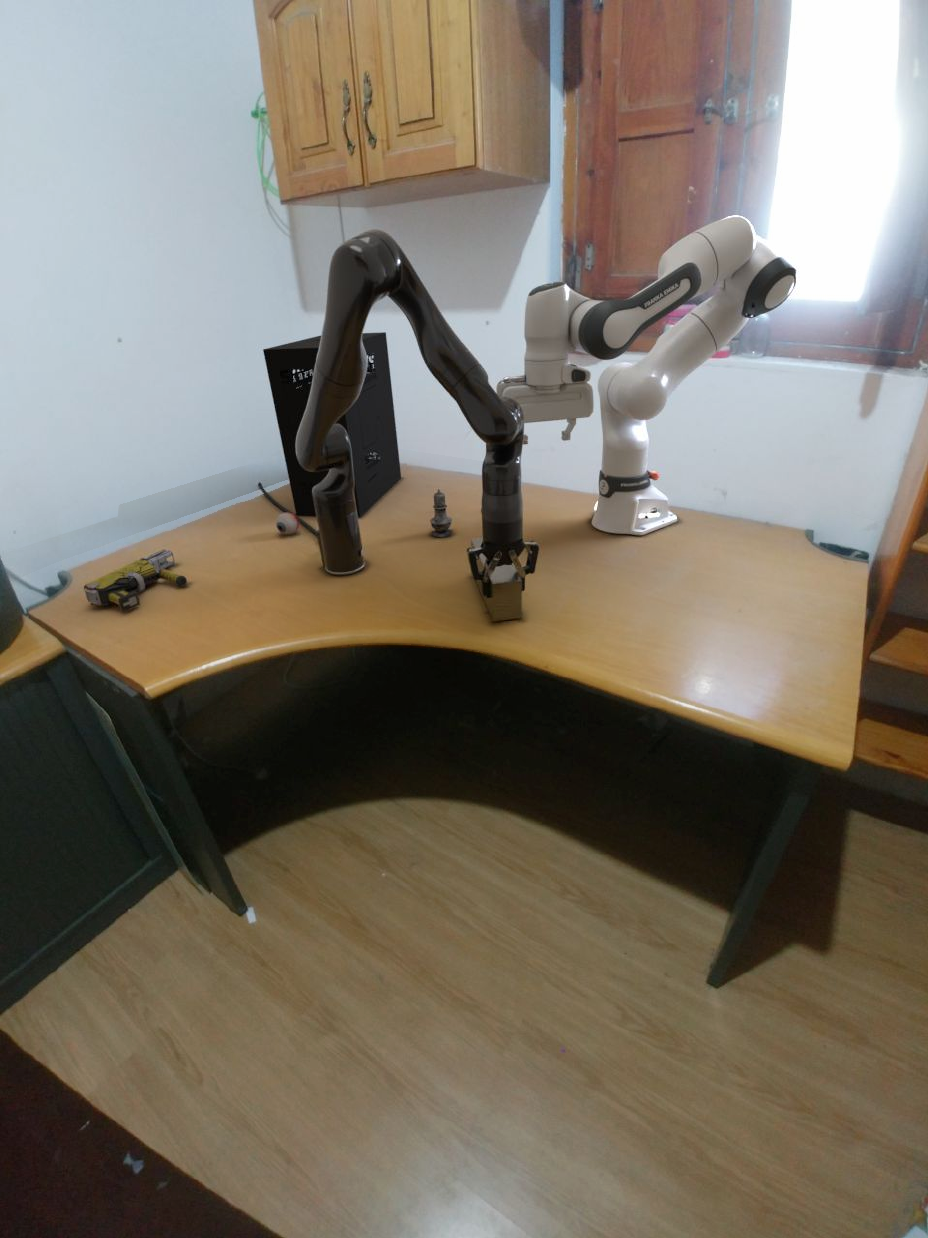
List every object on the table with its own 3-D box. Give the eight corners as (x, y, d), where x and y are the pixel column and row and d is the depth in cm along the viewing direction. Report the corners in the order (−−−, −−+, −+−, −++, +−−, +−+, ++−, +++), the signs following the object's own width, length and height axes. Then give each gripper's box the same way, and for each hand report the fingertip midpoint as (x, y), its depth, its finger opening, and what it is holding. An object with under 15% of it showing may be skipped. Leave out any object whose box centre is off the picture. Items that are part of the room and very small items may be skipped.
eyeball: (273, 537, 164) (268, 516, 161) (287, 528, 169) (282, 508, 166) (291, 539, 161) (286, 518, 158) (305, 530, 166) (301, 510, 163)
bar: (472, 572, 137) (470, 539, 133) (496, 570, 138) (496, 536, 133) (493, 621, 118) (492, 583, 114) (521, 617, 119) (521, 580, 114)
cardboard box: (360, 517, 174) (335, 347, 151) (296, 514, 178) (263, 349, 156) (401, 477, 205) (385, 332, 183) (345, 476, 210) (324, 334, 187)
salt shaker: (450, 537, 157) (447, 492, 151) (428, 536, 158) (424, 492, 152) (455, 529, 162) (452, 485, 156) (433, 528, 163) (430, 485, 157)
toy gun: (210, 557, 146) (160, 546, 150) (132, 599, 126) (77, 585, 130) (213, 575, 148) (164, 564, 152) (137, 618, 128) (82, 604, 132)
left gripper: (467, 525, 107) (471, 608, 115) (545, 516, 108) (544, 598, 117) (460, 510, 113) (464, 590, 121) (534, 502, 115) (533, 582, 123)
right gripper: (499, 379, 119) (501, 450, 126) (598, 371, 122) (594, 440, 129) (492, 375, 125) (494, 442, 132) (587, 367, 127) (584, 434, 134)
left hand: (503, 594), depth 119 cm, fingers closed on bar, 5 cm apart
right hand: (544, 441), depth 130 cm, fingers open, 8 cm apart
